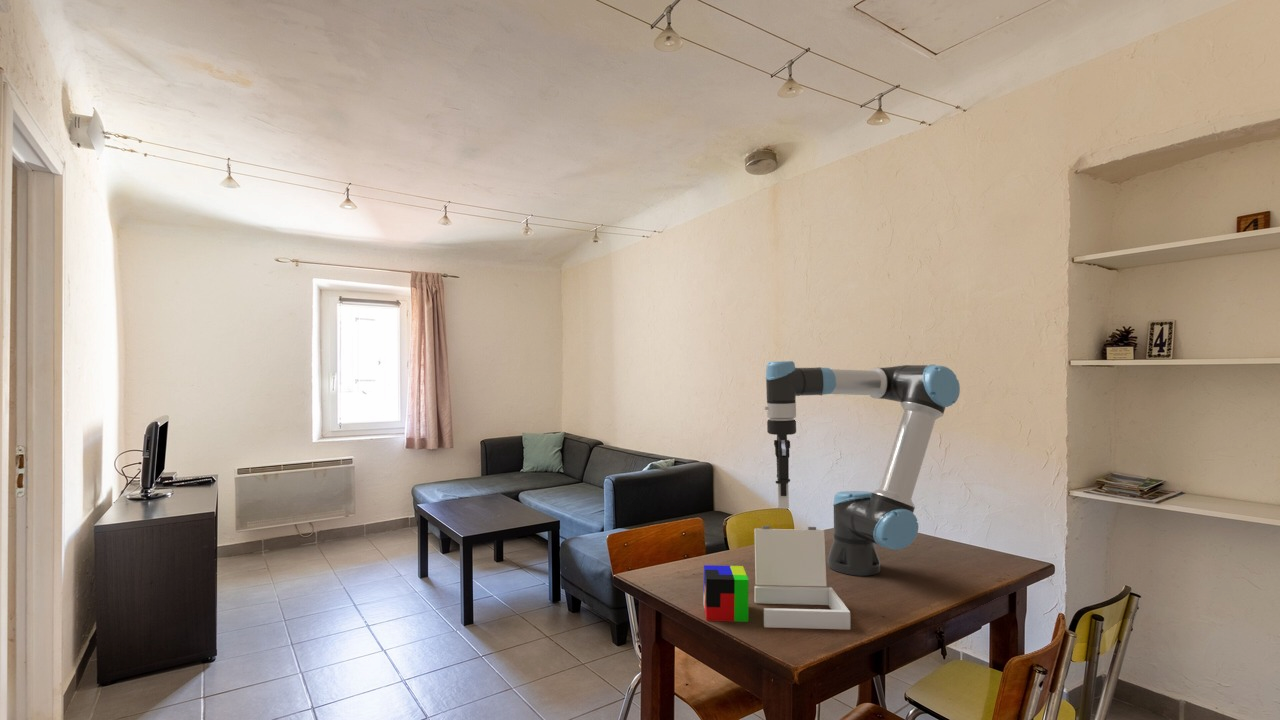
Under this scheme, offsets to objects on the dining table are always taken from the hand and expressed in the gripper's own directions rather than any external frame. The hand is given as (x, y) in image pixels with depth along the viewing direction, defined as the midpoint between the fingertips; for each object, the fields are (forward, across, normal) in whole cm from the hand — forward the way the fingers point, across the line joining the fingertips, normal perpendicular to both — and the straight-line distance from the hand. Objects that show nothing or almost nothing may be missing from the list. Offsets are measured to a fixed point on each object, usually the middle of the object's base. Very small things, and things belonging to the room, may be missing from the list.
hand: (783, 507), depth 159 cm
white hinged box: (+23, +12, +2) cm, 26 cm away
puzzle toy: (+23, +14, -16) cm, 31 cm away
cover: (+12, +4, +1) cm, 12 cm away
